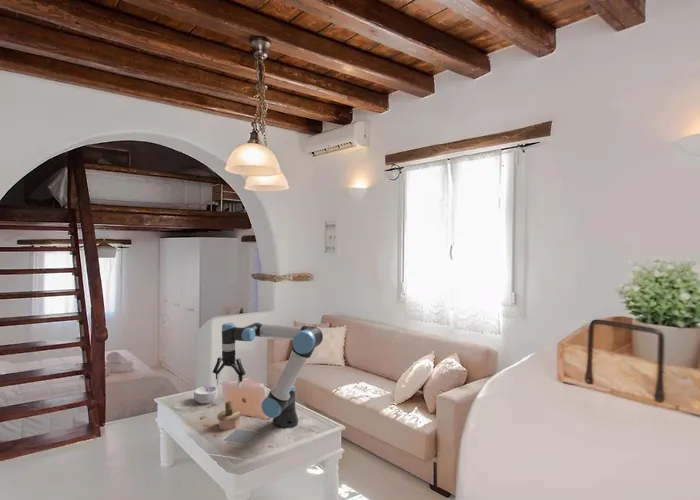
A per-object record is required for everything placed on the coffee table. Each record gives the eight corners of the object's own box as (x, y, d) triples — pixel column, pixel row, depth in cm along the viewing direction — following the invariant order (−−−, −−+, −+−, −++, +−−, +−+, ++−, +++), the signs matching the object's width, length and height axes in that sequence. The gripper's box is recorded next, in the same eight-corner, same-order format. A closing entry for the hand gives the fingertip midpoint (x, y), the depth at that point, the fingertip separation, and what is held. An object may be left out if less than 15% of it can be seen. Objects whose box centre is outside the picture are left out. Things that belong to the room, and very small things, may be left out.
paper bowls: (190, 405, 283) (190, 393, 283) (199, 397, 298) (199, 385, 298) (213, 405, 282) (213, 393, 282) (220, 397, 297) (220, 386, 297)
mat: (259, 433, 243) (259, 432, 243) (246, 444, 229) (246, 443, 229) (237, 430, 247) (237, 428, 247) (223, 441, 233) (223, 439, 233)
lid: (244, 413, 256) (244, 399, 256) (232, 422, 243) (232, 408, 243) (225, 410, 259) (225, 397, 259) (212, 419, 247) (212, 405, 247)
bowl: (242, 423, 255) (242, 413, 255) (232, 431, 245) (232, 421, 245) (225, 421, 258) (225, 411, 258) (215, 429, 248) (215, 418, 248)
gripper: (251, 349, 250) (251, 385, 251) (213, 346, 257) (214, 382, 258) (244, 353, 243) (245, 390, 244) (206, 350, 250) (206, 386, 251)
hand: (229, 386), depth 251 cm, fingers open, 13 cm apart
